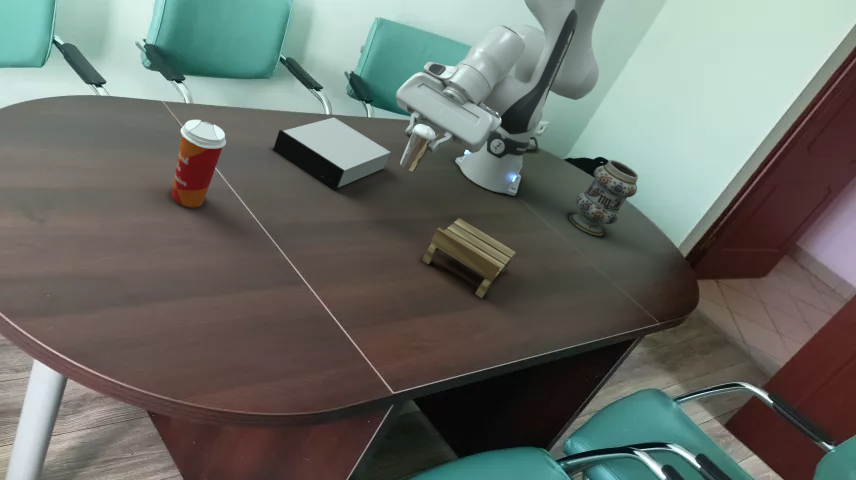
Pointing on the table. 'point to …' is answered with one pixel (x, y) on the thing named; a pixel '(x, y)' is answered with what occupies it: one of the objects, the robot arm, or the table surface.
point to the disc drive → (331, 152)
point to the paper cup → (196, 161)
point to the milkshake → (417, 146)
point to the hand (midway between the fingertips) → (418, 142)
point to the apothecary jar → (604, 197)
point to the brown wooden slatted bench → (471, 251)
